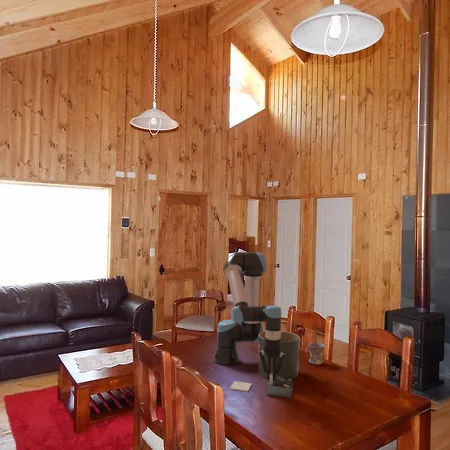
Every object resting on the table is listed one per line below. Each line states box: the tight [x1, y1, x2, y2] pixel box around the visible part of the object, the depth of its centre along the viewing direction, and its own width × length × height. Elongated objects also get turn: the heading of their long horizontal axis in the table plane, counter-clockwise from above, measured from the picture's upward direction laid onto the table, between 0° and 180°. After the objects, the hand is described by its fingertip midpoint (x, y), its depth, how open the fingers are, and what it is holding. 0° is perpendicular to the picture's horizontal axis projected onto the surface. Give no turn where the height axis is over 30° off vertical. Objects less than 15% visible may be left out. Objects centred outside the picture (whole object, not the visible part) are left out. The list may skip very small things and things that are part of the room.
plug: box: [274, 376, 288, 386], centre depth 189 cm, size 7×4×6 cm, turn 77°
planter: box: [258, 330, 301, 380], centre depth 215 cm, size 22×22×20 cm
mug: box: [304, 342, 325, 366], centre depth 232 cm, size 12×9×11 cm
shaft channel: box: [264, 379, 294, 399], centre depth 189 cm, size 12×10×5 cm
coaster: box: [229, 380, 252, 393], centre depth 195 cm, size 9×9×1 cm
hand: (271, 387), depth 190 cm, fingers closed
